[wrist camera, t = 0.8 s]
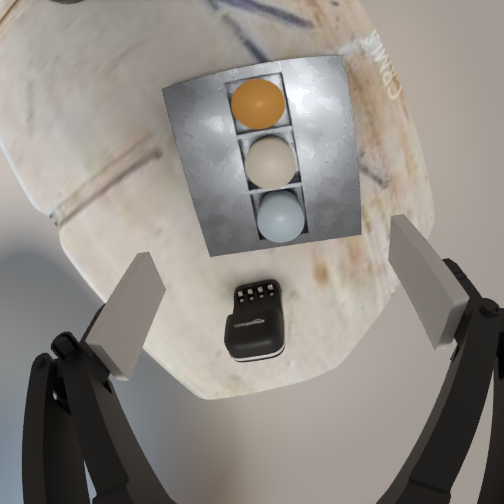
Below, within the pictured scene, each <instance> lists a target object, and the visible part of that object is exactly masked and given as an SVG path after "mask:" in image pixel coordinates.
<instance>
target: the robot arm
mask: <svg viewBox="0 0 504 504" xmlns="http://www.w3.org/2000/svg"><path fill="white" fill-rule="evenodd" d="M50 1H53V2H58V3H62V4H71V3H76V2H80V1H83V0H50ZM388 260H389V262H390V264H391V265H392V267H393V269H394V271H395V272H396V274H397V276H398V278H399V280H400V281H401V283H402V285H403V287H404V289H405V290H406V292H407V294H408V296H409V298H410V300H411V302H412V304H413V306H414V308H415V310H416V312H417V314H418V316H419V318H420V320H421V322H422V324H423V326H424V328H425V330H426V333H427V335H428V337H429V339H430V341H431V343H432V346H433V348H434V350H435V351H437V350H441V349H444V348H447V347H450V345H451V343H452V340H453V338H455V340H456V342H457V346H456V348H455V350H454V352H453V355H452V357H451V359H450V360H451V363H450V366H449V369H448V372H447V375H446V378H445V381H444V383H443V385H442V388H441V391H440V393H439V395H438V398H437V400H436V403H435V405H434V408H433V409H432V412H431V414H430V416H429V418H428V420H427V423H426V424H425V426H424V429H423V431H422V433H421V435H420V436H419V439H418V440H417V442H416V444H415V446H414V448H413V449H412V452H411V453H410V455H409V457H408V458H407V460H406V462H405V464H404V465H403V467H402V468H401V470H400V472H399V473H398V475H397V476H396V478H395V480H394V481H393V483H392V484H391V485H390V487H389V488H388V490H387V491H386V492H385V494H384V495H383V496H382V497H381V498H380V499H379V500H378V502H377V503H376V504H449V502H450V498H451V494H450V490H451V487H452V485H453V483H454V481H455V479H456V477H457V475H458V473H459V471H460V468H461V466H462V464H463V462H464V460H465V457H466V455H467V453H468V450H469V448H470V445H471V442H472V440H473V437H474V435H475V432H476V429H477V426H478V423H479V420H480V417H481V414H482V411H483V407H484V404H485V400H486V397H487V393H488V389H489V385H490V381H491V376H492V372H493V371H494V396H493V416H492V427H491V436H490V444H489V451H488V458H487V463H486V469H485V474H484V478H483V483H482V487H481V491H480V494H479V498H478V502H477V504H504V308H500V307H499V306H498V304H497V303H496V302H494V301H493V300H491V299H488V298H482V297H481V295H480V294H479V292H478V291H477V290H476V288H475V287H474V285H473V284H472V283H471V281H470V280H469V279H468V278H467V276H466V275H465V274H464V273H463V272H462V270H461V268H460V267H459V266H458V265H457V264H456V263H454V262H453V261H452V260H450V259H449V258H447V259H441V258H440V257H439V255H438V254H437V253H436V252H435V250H434V249H433V248H432V247H431V245H430V244H429V243H428V242H427V241H426V239H425V238H424V237H423V236H422V235H421V233H420V232H419V231H418V230H417V229H416V228H415V226H414V225H413V224H412V223H411V222H410V221H409V220H408V219H407V217H406V216H405V215H404V214H402V215H394V216H391V228H390V246H389V259H388ZM165 291H166V289H165V287H164V285H163V282H162V280H161V278H160V276H159V273H158V271H157V269H156V267H155V264H154V262H153V260H152V257H151V255H150V253H149V252H143V253H138V254H137V255H136V257H135V258H134V260H133V261H132V263H131V264H130V266H129V268H128V269H127V271H126V272H125V274H124V275H123V277H122V278H121V280H120V282H119V283H118V285H117V286H116V288H115V290H114V291H113V293H112V295H111V296H110V298H109V300H108V301H107V303H106V304H104V305H103V306H102V307H101V308H100V309H99V310H98V311H97V313H96V314H95V316H94V319H93V320H92V321H91V323H90V325H89V326H88V328H87V330H86V332H85V333H84V335H83V337H82V339H81V341H80V342H78V341H77V340H76V338H75V337H74V336H73V334H72V333H71V332H69V331H68V332H63V333H61V334H59V335H58V336H57V337H56V338H55V339H54V340H53V342H52V344H51V350H52V351H53V352H54V353H55V355H56V356H57V357H58V358H57V359H53V358H52V357H51V356H50V355H49V354H48V353H42V354H40V355H39V356H38V357H36V358H35V360H34V362H33V364H32V368H31V373H30V379H29V385H28V391H27V398H26V406H25V415H24V425H23V440H22V484H23V500H24V504H90V499H89V493H88V487H87V481H86V474H85V466H84V461H85V464H86V466H87V469H88V472H89V474H90V477H91V480H92V482H93V485H94V487H95V490H96V493H97V495H96V497H95V498H93V500H92V504H177V503H176V502H174V501H173V500H172V499H171V498H170V497H169V495H168V494H167V493H166V491H165V489H164V488H163V486H162V485H161V483H160V482H159V480H158V478H157V476H156V475H155V473H154V471H153V469H152V468H151V466H150V464H149V462H148V461H147V459H146V457H145V455H144V453H143V451H142V449H141V447H140V446H139V444H138V442H137V440H136V438H135V435H134V434H133V431H132V429H131V427H130V425H129V423H128V421H127V418H126V416H125V414H124V412H123V409H122V407H121V405H120V402H119V400H118V398H117V395H116V393H115V390H114V387H113V385H112V383H111V381H110V380H109V378H108V377H109V374H110V372H111V374H112V375H113V376H114V377H115V378H116V379H117V380H126V381H130V378H131V376H132V373H133V370H134V368H135V365H136V362H137V360H138V357H139V354H140V352H141V349H142V347H143V344H144V342H145V339H146V336H147V334H148V331H149V329H150V326H151V324H152V322H153V319H154V317H155V314H156V312H157V309H158V307H159V305H160V302H161V300H162V298H163V295H164V293H165ZM53 392H54V393H55V394H56V395H57V399H56V400H55V399H54V397H53Z"/></svg>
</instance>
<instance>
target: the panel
mask: <svg viewBox="0 0 504 504" xmlns="http://www.w3.org/2000/svg"><path fill="white" fill-rule="evenodd" d="M252 79H264V80H267V81H270V82H272V83H274V84H275V85H276V86H277V87H278V88H279V89H280V90H281V92H282V93H283V96H284V99H285V110H284V113H283V115H282V117H281V118H280V119H279V121H278V122H277V123H275V124H274V125H272V126H270V127H268V128H265V129H252V128H248V127H246V126H244V125H243V124H241V123H240V122H239V121H238V120H237V119H236V118H235V116H234V114H233V112H232V108H231V100H232V96H233V94H234V92H235V90H236V89H237V88H238V87H239V86H240V85H241V84H242V83H244V82H246V81H248V80H252ZM162 92H163V96H164V100H165V104H166V107H167V111H168V115H169V119H170V123H171V127H172V130H173V134H174V138H175V141H176V145H177V149H178V152H179V156H180V159H181V163H182V166H183V170H184V173H185V177H186V180H187V183H188V187H189V190H190V194H191V197H192V200H193V204H194V207H195V210H196V213H197V217H198V220H199V223H200V226H201V230H202V233H203V236H204V239H205V242H206V245H207V248H208V251H209V255H210V257H213V256H220V255H226V254H233V253H240V252H247V251H253V250H260V249H267V248H274V247H280V246H287V245H294V244H301V243H307V242H314V241H321V240H328V239H334V238H341V237H348V236H355V235H362V234H361V200H360V182H359V168H358V157H357V146H356V137H355V128H354V120H353V113H352V106H351V99H350V93H349V87H348V81H347V75H346V70H345V65H344V60H343V55H332V56H317V57H306V58H296V59H288V60H281V61H274V62H267V63H261V64H256V65H250V66H245V67H240V68H235V69H231V70H226V71H222V72H218V73H214V74H210V75H206V76H202V77H199V78H195V79H192V80H188V81H185V82H182V83H178V84H175V85H172V86H169V87H166V88H163V89H162ZM267 136H273V137H278V138H280V139H282V140H284V141H285V142H286V143H287V144H288V145H289V146H290V148H291V150H292V152H293V154H294V157H295V160H296V171H295V174H294V176H293V178H292V179H291V180H290V182H289V183H287V184H286V185H285V186H283V187H281V188H278V189H264V188H261V187H259V186H257V185H255V184H254V183H253V182H252V181H251V180H250V179H249V177H248V176H247V173H246V170H245V160H246V156H247V153H248V151H249V148H250V147H251V145H252V144H253V143H254V142H255V141H256V140H258V139H260V138H262V137H267ZM276 190H284V191H288V192H290V193H292V194H293V195H295V196H296V197H297V198H298V200H299V202H300V204H301V208H302V211H303V215H304V227H303V230H302V231H301V233H300V234H299V235H298V236H297V237H296V238H295V239H293V240H291V241H288V242H283V243H278V242H273V241H270V240H268V239H267V238H265V237H264V236H263V235H262V234H261V232H260V231H259V228H258V224H257V218H258V207H259V203H260V201H261V200H262V198H263V197H264V196H265V195H266V194H268V193H270V192H272V191H276Z"/></svg>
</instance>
